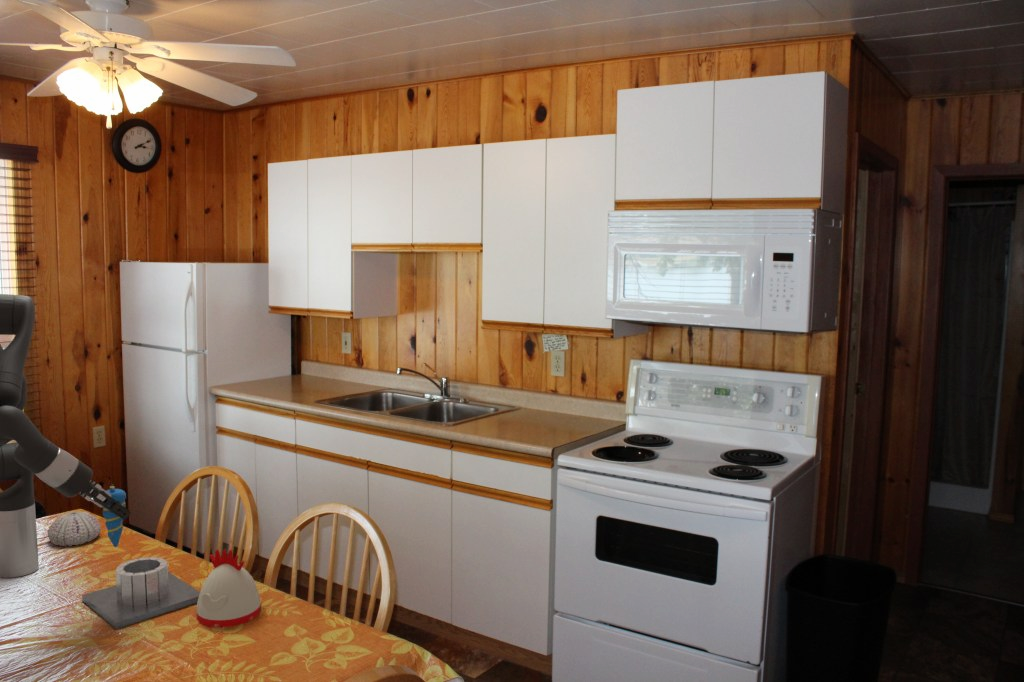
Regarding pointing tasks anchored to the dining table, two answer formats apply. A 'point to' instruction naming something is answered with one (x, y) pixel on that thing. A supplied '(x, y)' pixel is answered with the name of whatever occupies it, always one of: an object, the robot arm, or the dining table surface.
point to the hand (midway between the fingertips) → (122, 512)
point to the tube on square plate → (141, 593)
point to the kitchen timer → (227, 594)
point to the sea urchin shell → (74, 529)
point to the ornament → (114, 516)
